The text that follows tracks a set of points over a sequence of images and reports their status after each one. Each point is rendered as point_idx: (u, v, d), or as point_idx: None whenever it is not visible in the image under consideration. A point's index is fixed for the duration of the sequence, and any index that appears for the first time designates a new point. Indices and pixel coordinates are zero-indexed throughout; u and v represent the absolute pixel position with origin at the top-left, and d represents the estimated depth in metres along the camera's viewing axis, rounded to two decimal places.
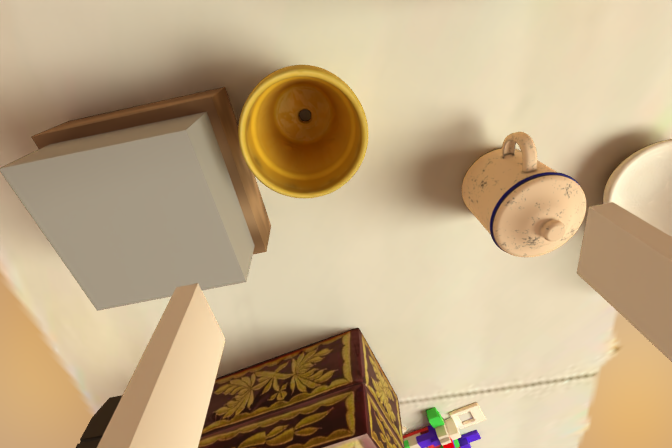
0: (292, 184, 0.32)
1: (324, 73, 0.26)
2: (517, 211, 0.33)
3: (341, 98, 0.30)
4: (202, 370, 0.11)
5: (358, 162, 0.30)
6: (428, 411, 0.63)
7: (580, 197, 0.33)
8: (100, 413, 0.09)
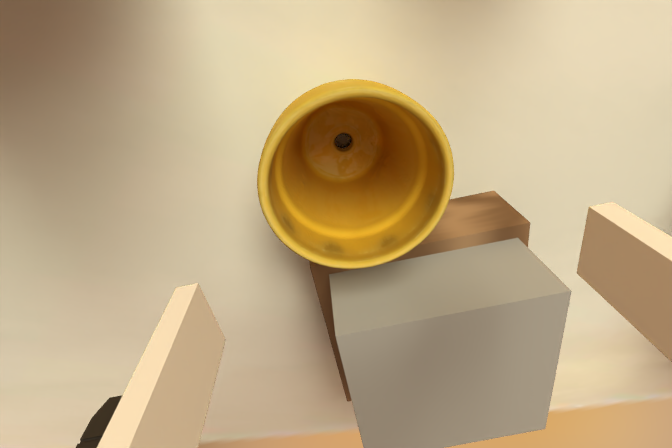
0: (428, 196, 0.21)
1: (261, 160, 0.18)
2: None
3: (306, 115, 0.20)
4: (202, 370, 0.11)
5: (403, 102, 0.17)
6: None
7: None
8: (100, 413, 0.09)
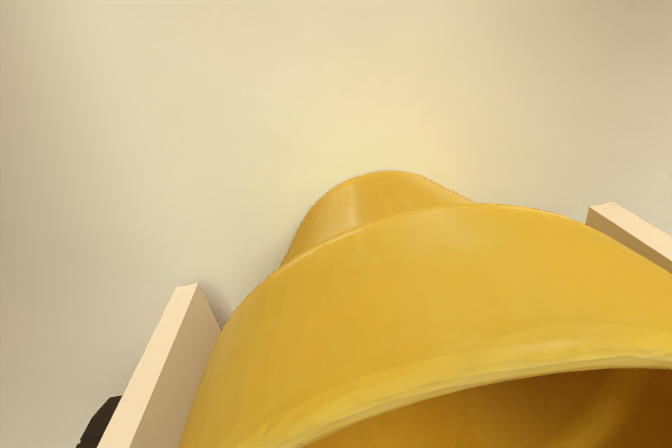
0: None
1: None
2: None
3: None
4: (202, 370, 0.11)
5: None
6: None
7: None
8: (100, 413, 0.09)
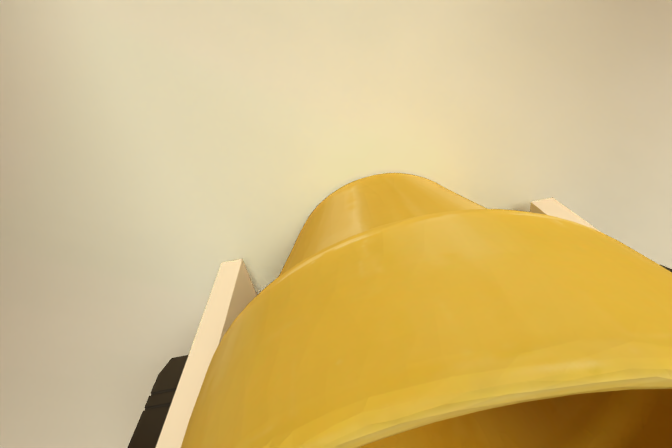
0: None
1: None
2: None
3: None
4: None
5: None
6: None
7: None
8: (165, 371, 0.10)
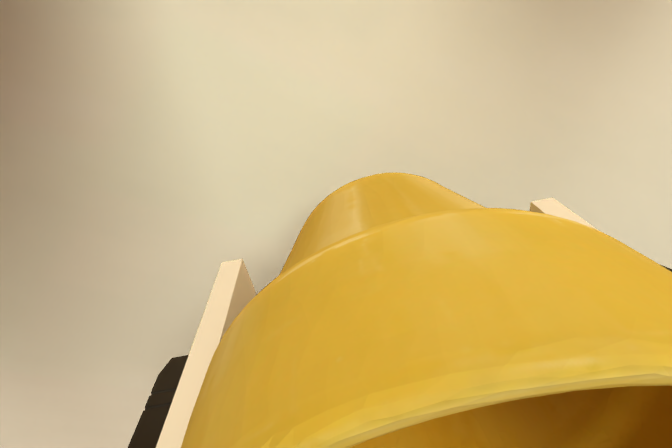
0: None
1: None
2: None
3: None
4: None
5: None
6: None
7: None
8: (166, 371, 0.10)
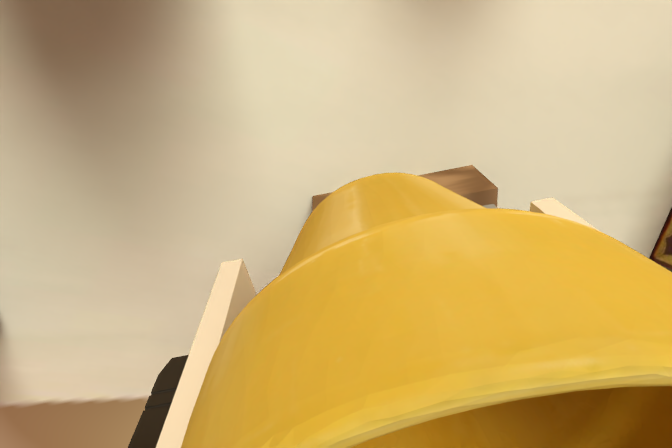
0: None
1: None
2: None
3: None
4: None
5: None
6: None
7: None
8: (166, 371, 0.10)
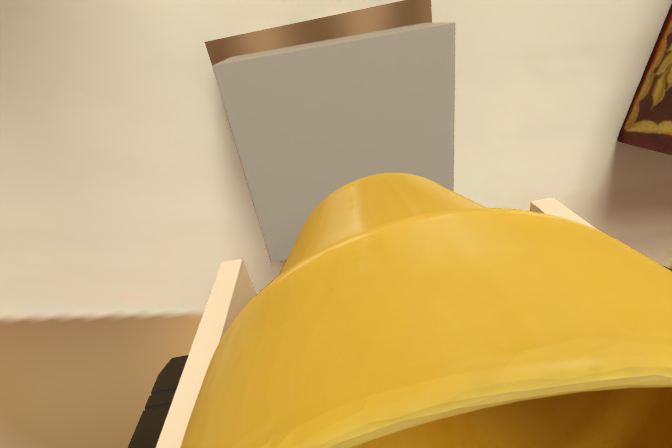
0: None
1: None
2: None
3: None
4: None
5: None
6: None
7: None
8: (166, 370, 0.10)
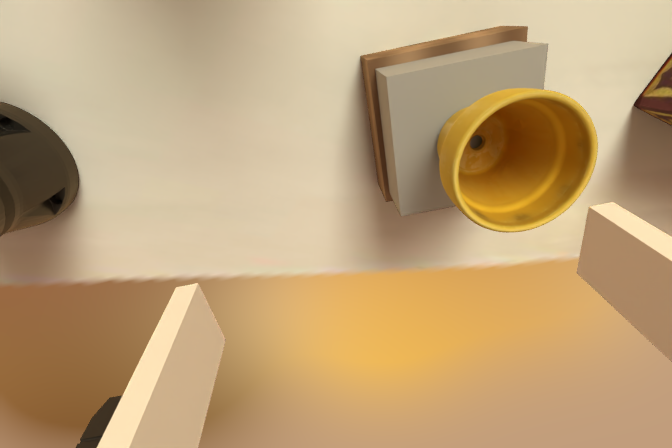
0: (560, 187, 0.28)
1: (468, 130, 0.24)
2: None
3: None
4: (202, 370, 0.11)
5: (578, 109, 0.24)
6: None
7: None
8: (100, 413, 0.09)
